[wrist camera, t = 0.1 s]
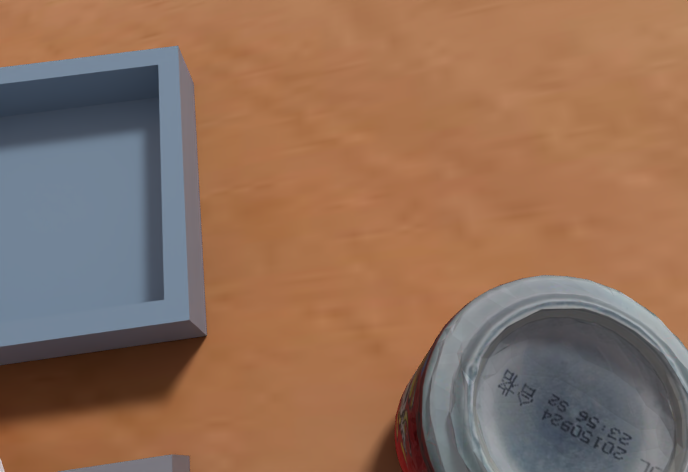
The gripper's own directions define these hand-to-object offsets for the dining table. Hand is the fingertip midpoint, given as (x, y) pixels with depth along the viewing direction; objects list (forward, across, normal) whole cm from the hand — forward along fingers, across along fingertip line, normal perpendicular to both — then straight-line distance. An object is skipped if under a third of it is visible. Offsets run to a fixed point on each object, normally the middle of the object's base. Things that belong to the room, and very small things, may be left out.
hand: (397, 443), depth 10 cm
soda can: (+13, -4, +9) cm, 16 cm away
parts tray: (+20, +14, -2) cm, 24 cm away
